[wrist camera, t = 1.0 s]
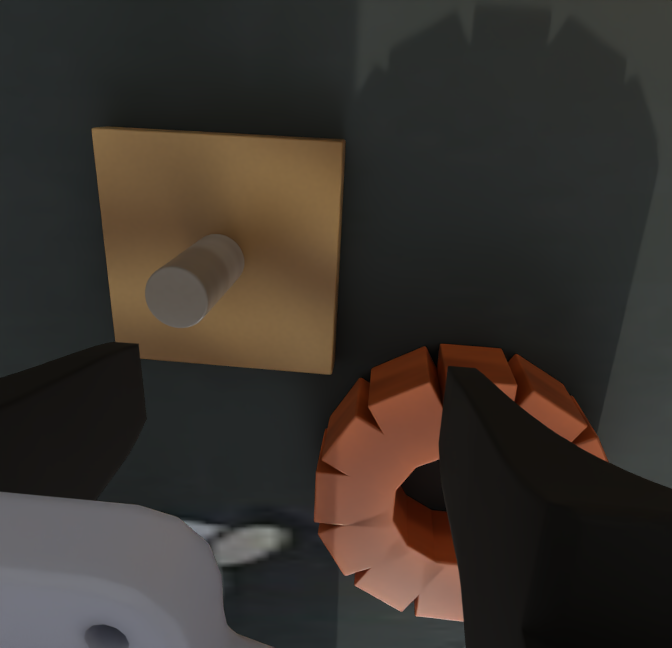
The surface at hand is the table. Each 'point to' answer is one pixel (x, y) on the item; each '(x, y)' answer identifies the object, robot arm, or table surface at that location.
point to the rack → (223, 245)
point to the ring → (400, 461)
